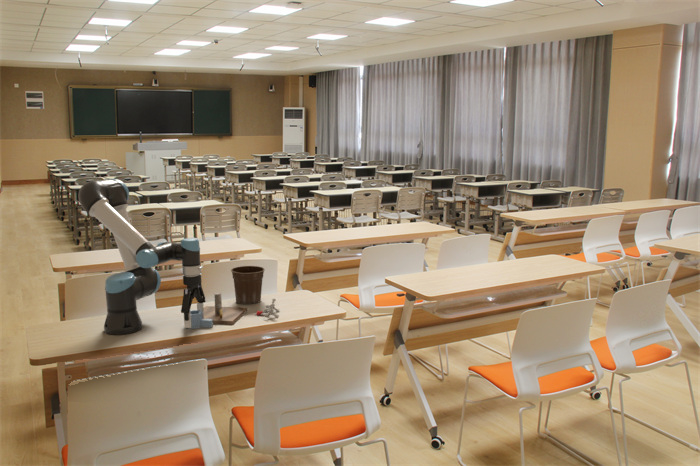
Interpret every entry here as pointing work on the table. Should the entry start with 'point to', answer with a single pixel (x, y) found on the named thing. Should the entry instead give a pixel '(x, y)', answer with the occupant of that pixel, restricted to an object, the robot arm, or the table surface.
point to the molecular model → (269, 310)
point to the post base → (223, 312)
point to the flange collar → (199, 320)
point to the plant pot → (248, 283)
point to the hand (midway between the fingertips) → (194, 323)
